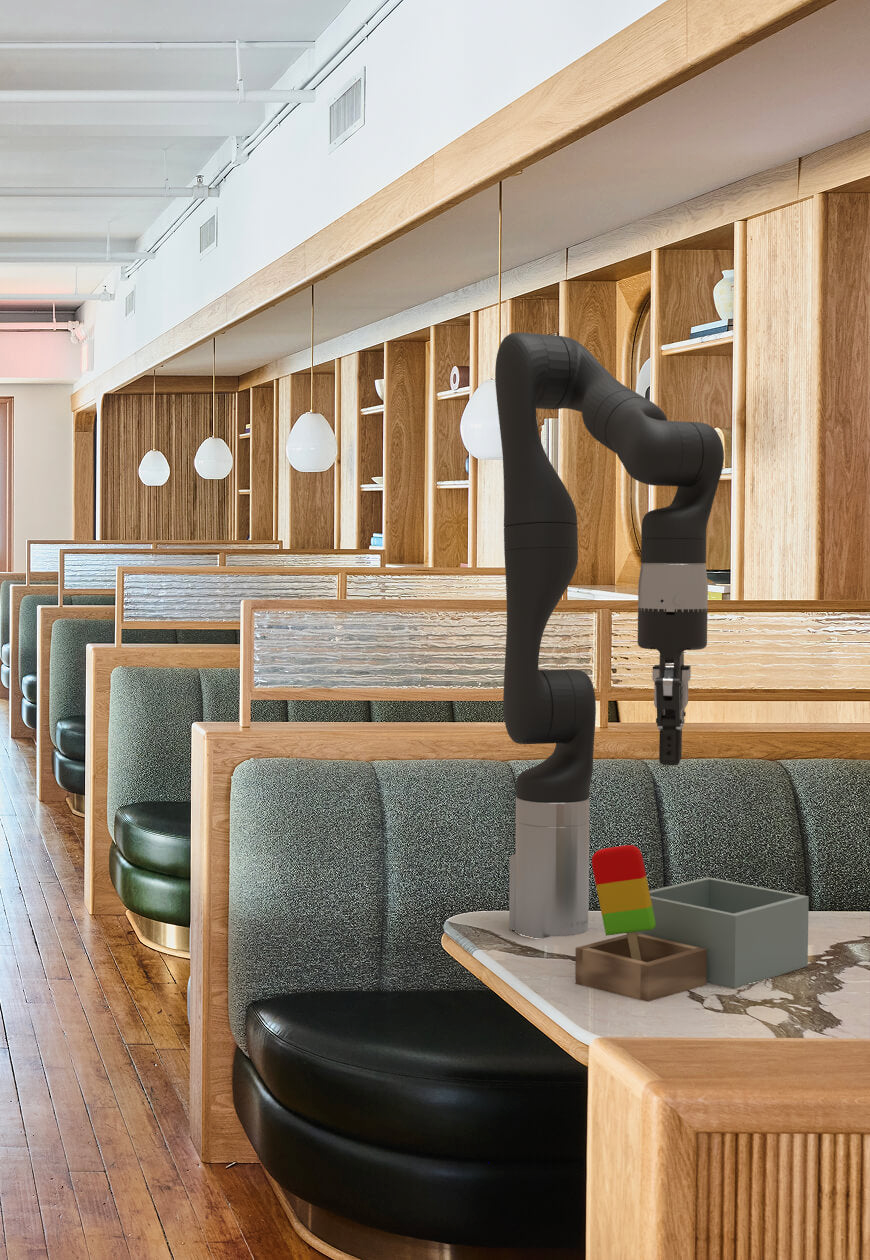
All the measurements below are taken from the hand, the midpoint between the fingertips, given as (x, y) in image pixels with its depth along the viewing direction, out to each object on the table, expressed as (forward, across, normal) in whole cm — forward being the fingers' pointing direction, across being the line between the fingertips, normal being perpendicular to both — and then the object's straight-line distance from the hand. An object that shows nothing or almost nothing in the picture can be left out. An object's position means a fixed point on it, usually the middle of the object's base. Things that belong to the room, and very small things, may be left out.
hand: (670, 762), depth 162 cm
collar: (+24, +4, -3) cm, 24 cm away
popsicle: (+24, +4, -2) cm, 24 cm away
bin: (+24, -7, +6) cm, 25 cm away
